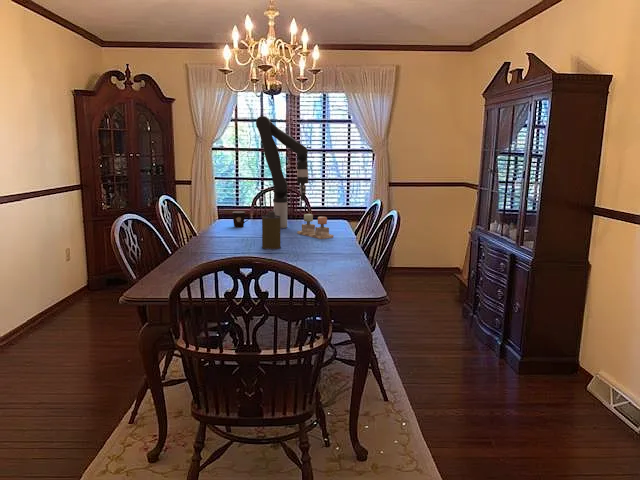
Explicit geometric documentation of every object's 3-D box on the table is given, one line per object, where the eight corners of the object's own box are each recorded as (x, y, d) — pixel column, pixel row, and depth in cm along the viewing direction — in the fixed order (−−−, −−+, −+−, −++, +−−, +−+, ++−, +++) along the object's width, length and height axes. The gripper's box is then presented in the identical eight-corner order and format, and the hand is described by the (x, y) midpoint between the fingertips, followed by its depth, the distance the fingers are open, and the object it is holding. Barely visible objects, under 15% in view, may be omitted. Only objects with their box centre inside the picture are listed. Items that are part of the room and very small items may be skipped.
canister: (283, 248, 285) (283, 212, 281) (264, 250, 281) (264, 213, 277) (277, 245, 294) (277, 210, 291) (259, 246, 291) (259, 210, 287)
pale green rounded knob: (302, 225, 331) (302, 214, 330) (309, 224, 335) (309, 213, 334) (307, 226, 327) (307, 215, 326) (314, 225, 331) (314, 214, 329)
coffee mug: (230, 227, 353) (230, 212, 351) (235, 225, 361) (235, 211, 359) (246, 228, 350) (245, 213, 348) (251, 226, 358) (251, 211, 356)
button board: (297, 233, 333) (297, 224, 332) (309, 231, 339) (309, 222, 338) (320, 239, 314) (320, 229, 313) (333, 237, 321) (333, 227, 320)
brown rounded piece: (315, 228, 321) (315, 217, 320) (322, 227, 324) (323, 216, 323) (321, 229, 316) (321, 218, 315) (328, 228, 320) (328, 217, 319)
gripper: (296, 176, 356) (296, 199, 359) (297, 176, 342) (298, 201, 345) (307, 176, 357) (307, 199, 359) (309, 176, 343) (309, 201, 345)
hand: (302, 200), depth 352 cm, fingers open, 8 cm apart
